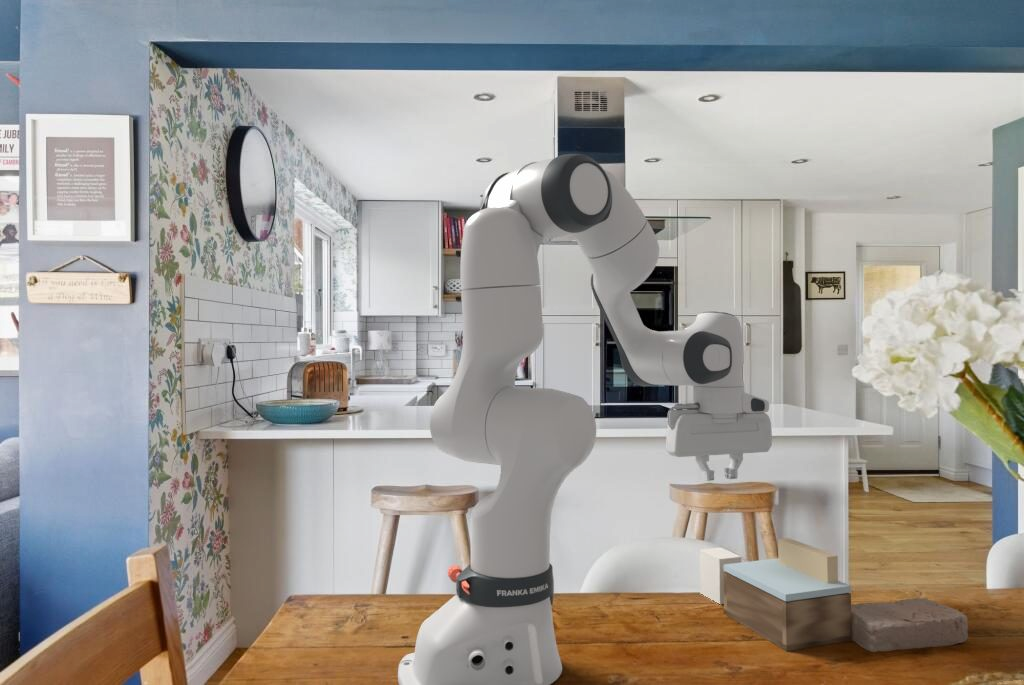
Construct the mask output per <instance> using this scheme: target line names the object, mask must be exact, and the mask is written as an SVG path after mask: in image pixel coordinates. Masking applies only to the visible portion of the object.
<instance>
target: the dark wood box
mask: <svg viewBox="0 0 1024 685" xmlns="http://www.w3.org/2000/svg"><path fill="white" fill-rule="evenodd" d="M851 605H852V594H851V592H850V593H843V594H836V595H829V596H822V597H815V598H808V599H801V600H793V601H784V600H782V599H780V598H778V597H776V596H774V595H772V594H770V593H768V592H766V591H764V590H762V589H760V588H758V587H755V586H753V585H751V584H749V583H747V582H745V581H743V580H741V579H739V578H737V577H735V576H733V575H731V574H729V573H727V572H724V605H723V614H724V615H725V614H726V615H725V616H728V618H730V619H732V620H733V621H735V622H737V623H739V624H741V625H742V626H744V627H745V628H747V629H749V630H750V631H751V632H753V633H756V634H757V635H759V636H761V637H762V638H763V639H765V640H767V641H769V642H770V643H772V644H774V645H776V646H777V647H779V648H780V649H782V650H784V651H785V652H789V651H796V650H802V649H807V648H813V647H819V646H826V645H832V644H837V643H843V642H849V641H853V640H852V627H851Z"/></svg>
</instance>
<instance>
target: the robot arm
mask: <svg viewBox="0 0 1024 685" xmlns="http://www.w3.org/2000/svg"><path fill="white" fill-rule="evenodd" d="M485 188H486V189H485V190H484V192H483V194H482V197H481V201H480V205H479V210H478V211H477V212H474V213H473V214H472V215H471V216H470V217H469V218H468V219H467V220H466V222H465V224H464V226H463V232H462V241H461V248H460V249H461V250H460V265H459V266H460V269H459V270H460V279H459V280H460V295H461V298H460V299H461V311H462V314H461V316H462V317H461V318H462V346H461V347H462V348H461V354H460V359H459V362H458V363H459V364H458V367H457V369H456V372H455V375H454V377H453V379H452V382H451V384H449V386H448V387H447V389H446V390H445V391H444V393H442V394H441V395H440V396H439V397H438V399H437V400H436V401H435V402H434V405H433V406H432V410H431V413H430V416H429V432H430V436H431V439H432V441H433V443H434V445H435V446H436V448H437V449H438V450H439V451H441V452H443V453H445V454H446V455H448V456H451V457H454V458H456V459H458V460H459V459H460V460H462V461H465V462H469V463H476V464H477V463H478V464H486V465H487V464H488V465H493V466H494V465H496V466H500V475H499V480H498V483H497V486H496V489H495V490H494V491H493V492H491V493H489V494H488V495H485V496H484V497H483V498H481V499H480V500H479V501H477V503H476V504H475V506H474V507H473V508H472V511H471V514H470V539H469V540H470V563H469V565H468V566H466V567H465V568H464V569H463V570H462V568H461V566H459V565H458V564H452V565H451V566H449V568H448V569H447V577H449V579H450V581H451V582H452V583H455V586H456V588H455V590H456V594H455V595H453V597H451V598H450V599H449V600H448V601H446V603H445V604H443V605H442V606H441V607H440V608H438V609H437V610H436V611H435V612H434V613H432V614H431V615H430V616H429V617H427V618H426V619H425V620H424V621H423V622H422V623H421V625H420V627H419V630H418V631H417V632H418V633H417V635H416V641H415V647H414V652H411V653H407V654H405V655H404V656H403V657H402V659H401V660H400V662H399V664H398V669H397V682H398V685H551V684H553V683H554V682H556V681H557V680H558V679H559V677H560V676H561V674H562V672H563V665H562V661H561V657H560V653H559V651H558V645H557V642H556V635H555V628H554V621H553V613H552V612H553V611H552V606H553V604H554V594H555V593H554V592H555V585H554V584H555V580H554V573H553V572H554V571H553V565H552V563H550V562H551V561H550V559H551V557H550V554H551V553H550V550H551V548H550V545H551V544H550V542H551V541H550V540H551V526H552V525H551V524H552V522H551V521H552V514H553V513H552V512H553V507H554V503H555V499H556V497H557V495H558V494H559V493H558V492H559V490H560V488H561V487H562V485H563V483H564V482H565V480H566V479H567V477H568V476H569V475H571V473H572V472H573V471H575V469H577V468H578V467H580V466H581V465H582V464H583V463H584V462H585V461H587V458H589V456H590V454H591V453H592V451H593V448H594V446H595V443H596V439H597V438H596V437H597V421H596V418H595V415H594V412H593V410H592V408H591V407H590V405H589V404H588V402H587V401H586V400H585V398H584V397H582V396H579V395H576V394H573V393H570V392H566V391H561V390H559V389H553V388H546V387H545V388H542V387H516V376H517V371H518V368H519V366H520V364H521V362H522V361H523V360H525V359H526V358H528V357H530V356H531V355H532V354H533V353H534V352H535V351H537V349H538V348H540V345H541V344H542V341H543V337H544V322H543V307H542V291H541V289H542V288H541V277H540V276H541V275H540V266H539V259H538V255H539V251H540V246H541V243H542V242H543V240H544V241H546V240H553V239H557V238H561V237H564V236H567V235H570V234H571V235H572V236H573V237H574V239H575V240H576V242H577V245H578V246H579V248H580V250H581V252H582V253H583V255H584V257H585V258H586V260H587V262H588V264H589V266H590V268H591V271H592V273H591V276H590V286H591V290H592V293H593V297H594V299H595V301H596V305H597V306H598V308H599V311H600V313H601V315H602V317H603V319H604V322H605V324H606V326H607V328H608V329H609V332H610V334H611V336H612V339H613V341H614V343H615V345H616V347H617V350H618V353H619V358H620V363H621V366H622V368H623V371H624V373H625V374H626V376H627V377H628V379H629V380H630V381H631V382H632V383H633V384H635V385H637V386H640V387H653V386H655V387H656V386H678V387H679V386H692V387H693V388H692V389H693V390H692V392H693V393H692V394H693V395H692V396H693V397H692V399H693V401H692V402H691V403H689V402H688V403H676V404H674V406H672V407H671V408H670V409H669V410H668V412H667V429H666V435H665V436H666V438H665V450H666V451H667V453H668V454H669V455H670V456H673V457H677V458H687V457H689V458H690V457H695V462H696V463H697V465H698V467H699V469H700V470H701V480H702V481H704V482H705V481H706V482H710V481H714V480H715V470H713V469H710V467H709V465H708V462H710V456H721V455H723V456H724V455H729V459H731V460H730V462H729V465H728V467H725V468H724V477H725V479H727V480H735V479H736V480H737V479H738V478H739V477H738V470H739V468H740V467H741V464H742V462H743V460H744V454H757V453H768V452H769V450H770V449H771V448H772V443H773V434H772V433H773V432H772V422H771V419H770V416H769V414H767V413H768V412H769V411H770V403H769V400H767V399H764V398H761V397H758V396H755V395H753V394H750V393H747V392H745V382H744V380H743V373H742V372H743V366H744V365H745V364H744V362H745V351H744V349H745V348H744V347H745V346H744V337H743V331H742V326H741V322H740V320H739V317H737V316H735V315H733V314H731V313H729V312H724V311H723V312H722V311H703V312H701V313H698V314H697V315H696V317H695V320H694V322H693V323H692V324H690V325H689V326H687V327H685V328H683V329H681V330H679V329H678V330H667V331H666V330H664V331H663V330H662V331H657V330H654V329H653V330H652V329H650V328H648V327H647V326H646V325H644V323H643V321H642V319H641V317H640V313H639V311H638V310H637V306H636V304H635V302H634V300H633V298H632V295H631V292H632V291H634V290H636V289H638V287H639V286H641V285H642V284H643V283H644V282H645V281H646V280H647V279H648V278H649V277H650V275H651V274H652V273H653V271H654V270H655V268H656V266H657V263H658V261H659V257H660V256H659V255H660V245H659V242H658V239H657V236H656V234H655V232H654V230H653V228H652V226H651V224H650V222H649V220H648V219H647V217H646V216H645V214H644V213H643V211H642V208H640V206H639V205H638V203H637V202H636V200H635V199H634V197H633V196H632V195H631V193H630V192H629V191H628V189H627V188H626V187H625V186H624V185H623V183H622V182H621V181H620V180H619V179H618V178H617V177H616V176H615V174H613V173H612V172H610V171H608V170H606V169H604V168H603V167H602V166H601V164H599V163H598V162H597V161H596V160H595V159H593V158H592V157H590V156H588V155H585V154H581V153H568V154H562V155H558V156H556V157H554V158H550V159H545V160H541V161H532V162H529V163H526V164H524V165H522V166H520V167H517V168H516V169H513V170H512V171H510V172H509V171H508V172H505V173H502V174H500V175H498V177H495V178H494V180H492V181H491V182H490V183H489V185H488V186H487V187H485Z"/></svg>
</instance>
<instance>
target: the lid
mask: <svg viewBox="0 0 1024 685" xmlns="http://www.w3.org/2000/svg"><path fill="white" fill-rule="evenodd" d="M777 546H778V547H777V549H778V550H777V552H778V558H770V559H769V558H767V559H759V560H752V561H751V560H750V561H741V563H733V564H724V565H723V569H724V571H725V572H727V573H729V574H731V575H733V576H735V577H737V578H739V579H741V580H743V581H745V582H747V583H749V584H751V585H753V586H755V587H758V588H760V589H762V590H764V591H766V592H768V593H770V594H772V595H774V596H776V597H778V598H780V599H782V600H784V601H793V600H801V599H808V598H815V597H822V596H829V595H836V594H843V593H850V594H851V592H852V588H851V587H852V586H851V585H850V584H848V583H846V582H843V581H841V580H839V569H838V568H839V566H838V565H839V563H838V560H839V558H838V555H836V554H834V553H831V552H828V551H825V550H822V549H820V548H817V547H814V546H811V545H808V544H806V543H803V542H801V541H799V540H798V541H797V540H795V539H792V538H789V537H782V538H781V537H780V538H778V540H777Z"/></svg>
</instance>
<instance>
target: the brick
mask: <svg viewBox="0 0 1024 685" xmlns="http://www.w3.org/2000/svg"><path fill="white" fill-rule="evenodd" d="M968 623H969V622H968V617H967V615H965V613H962V612H961V611H960V610H957V609H954V608H952V607H951V606H947V605H946V604H942V603H939V602H937V601H933V600H930V599H928V598H927V597H915V598H906V599H899V600H894V601H893V602H890V601H887V602H885V601H884V602H883V601H882V602H859V603H857V604H854V603H851V627H852V640H851V641H853V642H855V644H858V646H860V647H861V648H863V649H865V651H869V652H872V653H874V652H875V653H876V652H889V651H895V650H909V649H922V648H929V647H930V648H934V647H935V648H936V647H945V646H947V647H948V646H953V645H957V644H961V643H964V642H965V641H967V639H968V630H969V625H968Z"/></svg>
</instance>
